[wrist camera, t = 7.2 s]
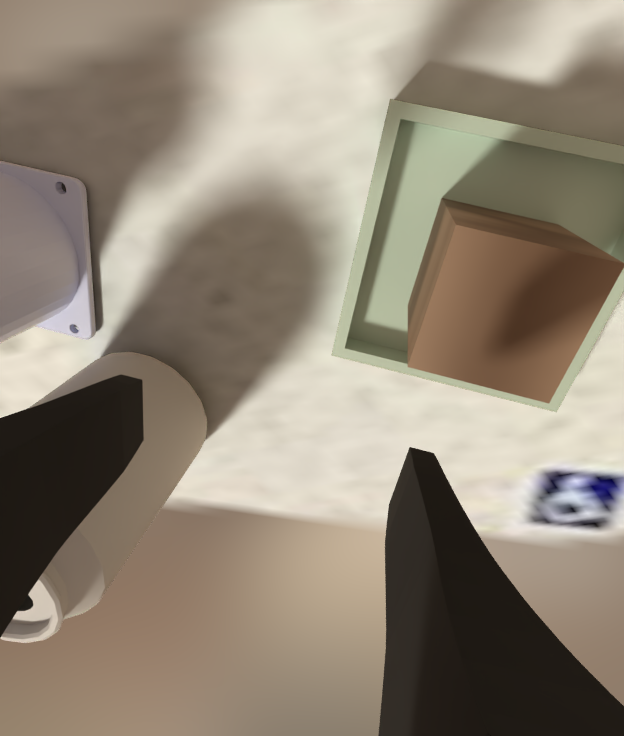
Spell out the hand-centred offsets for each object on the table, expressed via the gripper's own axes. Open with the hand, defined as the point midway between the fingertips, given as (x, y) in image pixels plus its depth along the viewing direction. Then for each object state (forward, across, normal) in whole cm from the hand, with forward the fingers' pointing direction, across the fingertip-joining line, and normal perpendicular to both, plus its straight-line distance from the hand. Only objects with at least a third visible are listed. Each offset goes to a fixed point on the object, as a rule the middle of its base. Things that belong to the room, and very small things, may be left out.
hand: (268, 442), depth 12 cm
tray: (+10, -6, -4) cm, 12 cm away
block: (+10, -6, -3) cm, 12 cm away
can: (+11, +9, +8) cm, 16 cm away
